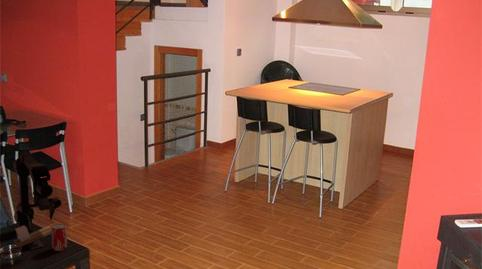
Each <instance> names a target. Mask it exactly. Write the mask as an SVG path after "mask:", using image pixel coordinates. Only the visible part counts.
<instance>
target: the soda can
mask: <svg viewBox="0 0 482 269" xmlns="http://www.w3.org/2000/svg"><path fill="white" fill-rule="evenodd" d="M51 228H52V233H51V246H52V250H53V251H55V252H57V251H58V252H62V251H64V250H65V249H67V248H68V233H67V227H66V224H63V223H57V224H54V225H53V226H52V227H51Z"/></svg>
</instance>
